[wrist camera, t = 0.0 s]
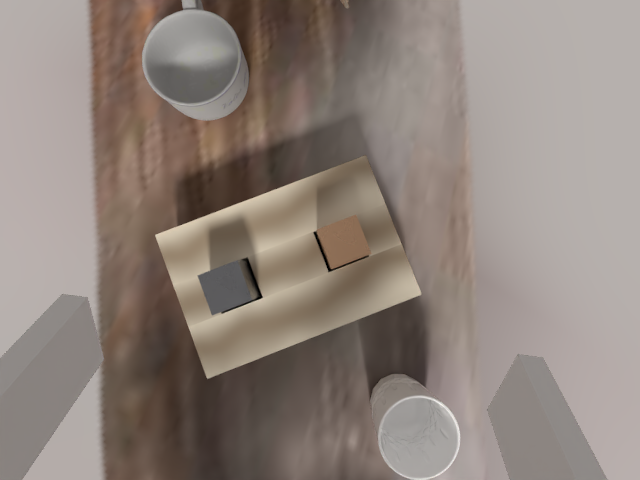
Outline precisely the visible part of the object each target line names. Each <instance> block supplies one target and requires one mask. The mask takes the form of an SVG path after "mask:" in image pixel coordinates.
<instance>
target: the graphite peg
mask: <svg viewBox="0 0 640 480" xmlns="http://www.w3.org/2000/svg"><path fill="white" fill-rule="evenodd" d="M197 276H198V279H199V281H200V284H201V287H202V290H203V292H204V295H205V298H206V300H207V303H208V306H209V309H210V311H211V314H212V316H213V315H215V314H218V313H220V312H223V311H225V310H228V309H231V308H233V307H236V306H238V305H241V304H243V303H246V302H249V301H251V300H253V299H255V298H257V297H259V296H261V293H260V290H259V288H258V285H257V282H256V280H255V277H254V274H253V272H252V269H251V266H250V264H249V261H244V260H236V261H234V262H231V263H228V264H226V265H223V266H221V267H218V268H215V269H213V270H210V271H208V272H205V273H202V274H200V275H197Z"/></svg>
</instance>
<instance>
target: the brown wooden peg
mask: <svg viewBox="0 0 640 480" xmlns="http://www.w3.org/2000/svg"><path fill="white" fill-rule="evenodd" d="M317 237H318V239H319V242H320V244H321V247H322V249H323V252H324V255H325V257H326V260H327V262H328V265H329V267H330V269H333V268H336V267H339V266H341V265H344V264H346V263H349V262H351V261H354V260H357V259H359V258H362V257H364V256H367V255H369V254H372V253H371V251H370V248H369V246H368V243H367V241H366V238H365V236H364V233H363V231H362V228H361V226H360V223H359V221H358V218H357V216H356V215H353V216H351V217H348V218H345V219H343V220H340V221H338V222H335V223H332V224H330V225H327V226H325V227H322V228H319V229H317Z"/></svg>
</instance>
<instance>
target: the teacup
mask: <svg viewBox="0 0 640 480" xmlns="http://www.w3.org/2000/svg"><path fill="white" fill-rule="evenodd" d="M182 6H183V10H182V11H178V12H175V13H173V14H171V15H169V16H167V17H165V18H164V19H162V20H161V21H160V22H158V24H157V25H156V26H155V27H154V28H153V29H152V30H151V32H150V34H149V35H148V37H147V39H146V42H145V45H144V49H143V53H142V66H143V71H144V74H145V77H146V79H147V81H148V83H149V84H150V86H151V87H152V89H153V90H154V91H155V92H156V93H157V94H158V95H159V96H161V97H162V98H163V99H165V100H167V101H168V102H169V103H170V104H171V105H172V106H173V107H175V108H176V109H177V110H179V111H180V112H182V113H183V114H185V115H187V116H189V117H191V118H194V119H198V120H216V119H220V118H222V117H225V116H227V115H229V114H230V113H232V112H233V111H234V110H235V109H236V108H237V107H238V106H239V105H240V104H241V102H242V101H243V99H244V97H245V95H246V92H247V89H248V84H249V71H248V66H247V62H246V59H245V56H244V54H243V51H242V49H241V46H240V42H239V39H238V37H237V35H236V33H235V31H234V29H233V28H232V27H231V26H230V25H229V24H228V23H227V22H226V20H224V19H223V18H222V17H220V16H218V15H217V14H215V13H212V12H209V11H205V10H203V6H202V2H201V0H182Z"/></svg>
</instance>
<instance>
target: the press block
mask: <svg viewBox="0 0 640 480" xmlns="http://www.w3.org/2000/svg"><path fill="white" fill-rule="evenodd" d="M353 215H356V216H357V218H358V221H359V223H360V226H361V228H362V231H363V233H364V236H365V238H366V241H367V243H368V246H369V248H370V251H371V253H372V254H369V255H367V256H364V257H362V258H360V259H358V260H355V261H353V262H350V263H347V264H345V265H342V266H340V267H337V268H335V269H332V270H329V271H328V269H327V266H326V264H325V261H324V259H323V256H322V254H321V251H320V248H319V246H318V243H317V241H316V238H315V236H317V229H319V228H322V227H325V226H327V225H330V224H332V223H335V222H338V221H340V220H343V219H345V218H348V217H351V216H353ZM155 236H156V239H157V242H158V244H159V247H160V250H161V253H162V255H163V258H164V261H165V264H166V267H167V269H168V272H169V275H170V278H171V280H172V283H173V286H174V289H175V291H176V294H177V297H178V300H179V302H180V305H181V308H182V311H183V313H184V316H185V319H186V322H187V325H188V327H189V330H190V333H191V336H192V338H193V341H194V344H195V347H196V349H197V352H198V355H199V358H200V360H201V363H202V366H203V369H204V372H205V374H206V377H207V379H209V378H211V377H214V376H216V375H219V374H221V373H224V372H226V371H229V370H231V369H234V368H236V367H239V366H242V365H244V364H247V363H249V362H252V361H254V360H257V359H259V358H262V357H264V356H267V355H269V354H272V353H275V352H277V351H280V350H282V349H285V348H287V347H290V346H292V345H295V344H297V343H300V342H302V341H305V340H308V339H310V338H313V337H315V336H318V335H320V334H323V333H325V332H328V331H330V330H333V329H335V328H338V327H341V326H343V325H346V324H348V323H351V322H353V321H356V320H358V319H361V318H363V317H366V316H368V315H371V314H374V313H376V312H379V311H381V310H384V309H386V308H389V307H391V306H394V305H396V304H399V303H401V302H404V301H406V300H409V299H412V298H414V297H417V296H419V295H422V294H421V291H420V289H419V286H418V284H417V281H416V279H415V276H414V274H413V271H412V269H411V266H410V264H409V261H408V259H407V256H406V254H405V251H404V249H403V246H402V244H401V241H400V239H399V236H398V234H397V231H396V229H395V226H394V224H393V221H392V219H391V216H390V214H389V211H388V209H387V206H386V204H385V201H384V199H383V196H382V194H381V191H380V189H379V186H378V184H377V181H376V179H375V176H374V174H373V171H372V169H371V166H370V164H369V161H368V159H367V156H366V155H364V156H362V157H359V158H357V159H354V160H351V161H349V162H346V163H343V164H341V165H338V166H336V167H333V168H330V169H328V170H325V171H322V172H320V173H317V174H314V175H312V176H309V177H307V178H304V179H301V180H299V181H296V182H293V183H291V184H288V185H286V186H283V187H280V188H278V189H275V190H272V191H270V192H267V193H264V194H262V195H259V196H257V197H254V198H251V199H249V200H246V201H243V202H241V203H238V204H235V205H233V206H230V207H228V208H225V209H222V210H220V211H217V212H214V213H212V214H209V215H207V216H204V217H201V218H199V219H196V220H193V221H191V222H188V223H185V224H183V225H180V226H178V227H175V228H172V229H170V230H167V231H164V232H162V233H159V234H156V235H155ZM236 260H244V261H249V262H250V265H251V267H252V270H253V273H254V275H255V278H256V281H257V283H258V286H259V289H260V291H261V294H262V296H263V297H260V298H257V299H255V300H252V301H250V302H247V303H245V304H242V305H239V306H237V307H233V308H231V309H228V310H225V311H223V312H220V313H218V314H215V315H213V316H212V314H211V311H210V309H209V306H208V303H207V300H206V298H205V295H204V292H203V290H202V287H201V284H200V281H199V279H198V276H197V275H200V274H202V273H205V272H208V271H210V270H213V269H215V268H218V267H221V266H223V265H226V264H228V263H231V262H234V261H236Z"/></svg>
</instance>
